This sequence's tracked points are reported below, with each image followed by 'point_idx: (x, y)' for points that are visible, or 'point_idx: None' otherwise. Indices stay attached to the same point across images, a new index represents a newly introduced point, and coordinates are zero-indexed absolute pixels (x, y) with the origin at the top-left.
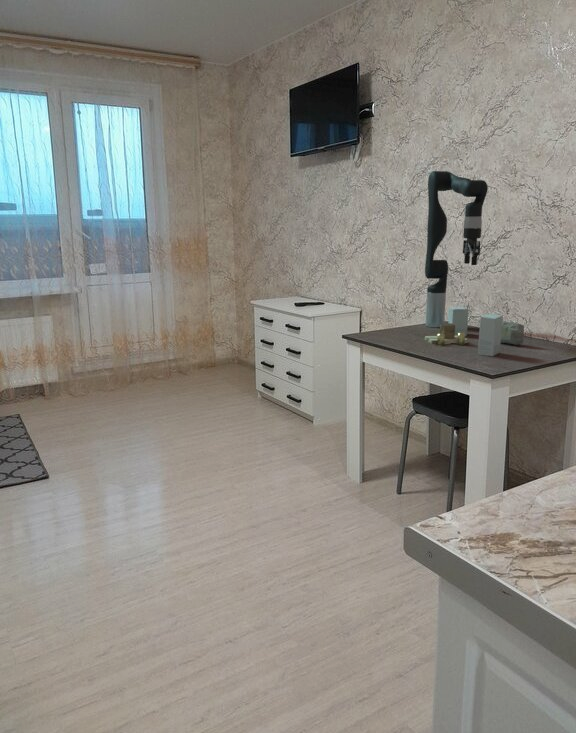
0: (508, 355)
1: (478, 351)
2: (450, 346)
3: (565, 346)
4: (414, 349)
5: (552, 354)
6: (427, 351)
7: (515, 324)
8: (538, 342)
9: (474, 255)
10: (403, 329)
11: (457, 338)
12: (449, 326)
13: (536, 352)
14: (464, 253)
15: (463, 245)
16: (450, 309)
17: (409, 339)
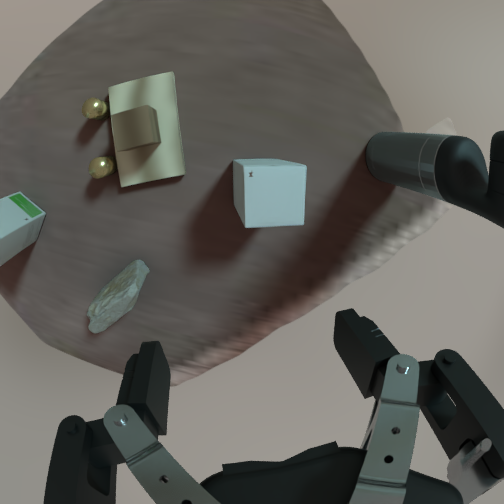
0: (24, 251)
1: (15, 193)
2: (87, 135)
3: None
4: (64, 53)
5: (53, 328)
6: (43, 83)
7: (93, 318)
8: None
9: (97, 421)
10: (343, 57)
11: (134, 159)
12: (114, 132)
13: (60, 310)
14: (402, 369)
15: (496, 411)
16: (282, 164)
17: (186, 37)
